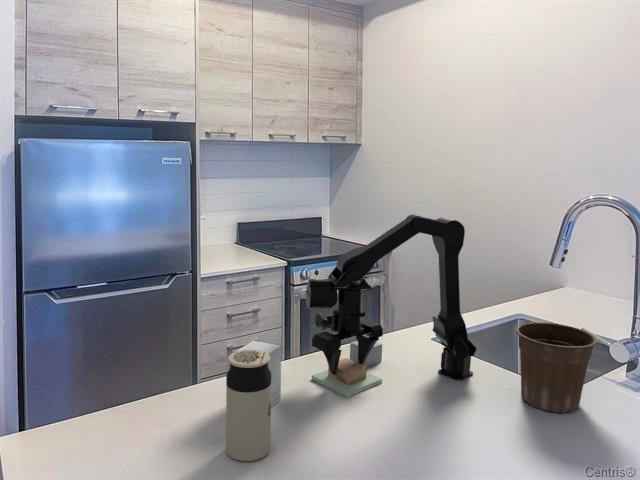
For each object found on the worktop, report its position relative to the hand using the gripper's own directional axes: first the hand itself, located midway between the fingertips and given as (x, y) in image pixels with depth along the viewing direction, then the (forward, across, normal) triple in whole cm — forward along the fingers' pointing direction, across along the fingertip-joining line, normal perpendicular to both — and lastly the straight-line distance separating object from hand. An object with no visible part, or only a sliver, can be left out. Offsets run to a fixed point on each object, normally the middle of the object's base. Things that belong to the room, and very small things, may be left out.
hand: (347, 369), depth 124 cm
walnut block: (+2, 0, 0) cm, 2 cm away
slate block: (+3, -13, -6) cm, 15 cm away
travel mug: (+3, +35, +10) cm, 37 cm away
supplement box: (+3, +23, -4) cm, 24 cm away
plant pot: (+3, -29, +36) cm, 46 cm away
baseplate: (+3, 0, 0) cm, 3 cm away
